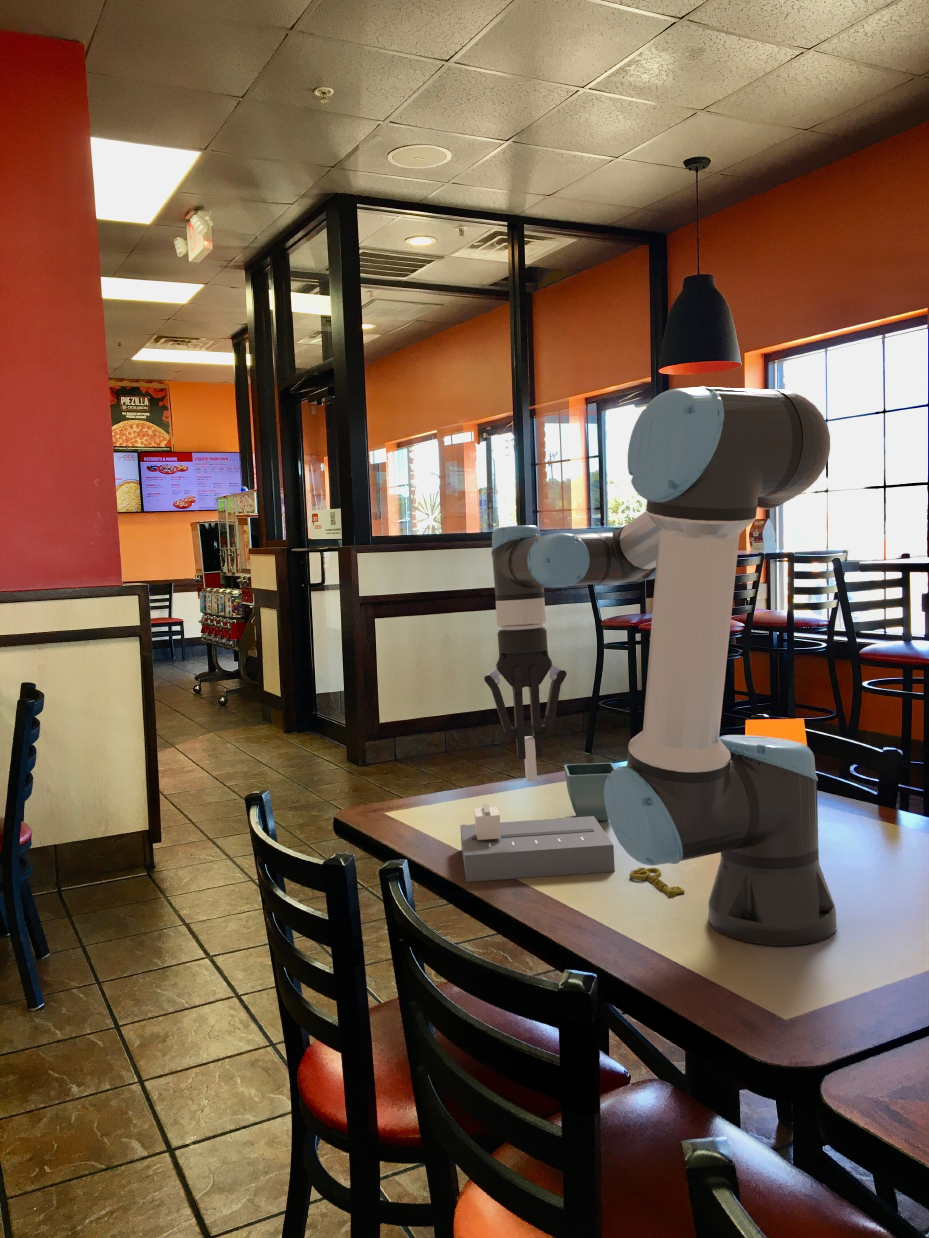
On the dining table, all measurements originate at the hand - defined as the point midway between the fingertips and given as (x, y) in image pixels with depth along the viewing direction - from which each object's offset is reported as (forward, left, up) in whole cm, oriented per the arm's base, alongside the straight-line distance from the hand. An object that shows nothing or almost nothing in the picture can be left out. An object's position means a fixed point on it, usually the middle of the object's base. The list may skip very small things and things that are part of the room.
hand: (531, 779), depth 148 cm
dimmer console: (+1, 0, -13) cm, 13 cm away
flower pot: (+22, -13, -13) cm, 28 cm away
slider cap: (+1, +7, -8) cm, 11 cm away
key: (-13, -15, -14) cm, 24 cm away
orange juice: (-1, -38, -13) cm, 40 cm away
